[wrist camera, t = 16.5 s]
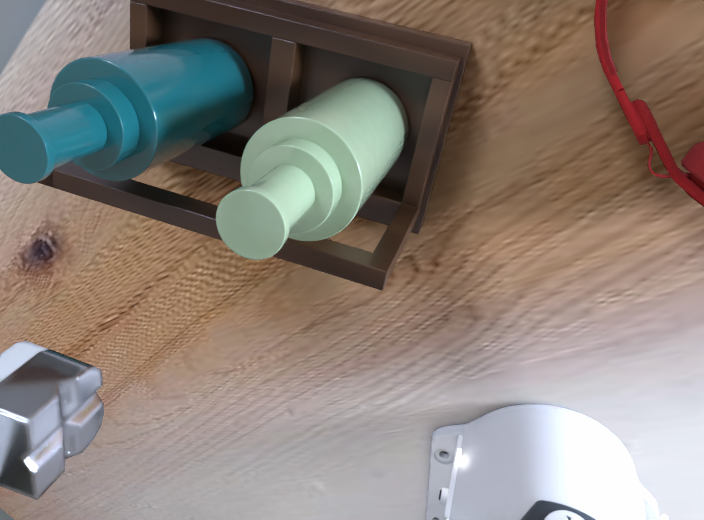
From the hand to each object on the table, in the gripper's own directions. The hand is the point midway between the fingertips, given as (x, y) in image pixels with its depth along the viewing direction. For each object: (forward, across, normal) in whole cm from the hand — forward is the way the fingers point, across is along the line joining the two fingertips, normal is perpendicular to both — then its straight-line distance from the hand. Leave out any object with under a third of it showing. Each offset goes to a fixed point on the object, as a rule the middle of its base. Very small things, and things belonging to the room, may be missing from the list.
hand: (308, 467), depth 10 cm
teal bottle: (+31, +18, +4) cm, 36 cm away
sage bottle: (+31, +7, +4) cm, 32 cm away
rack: (+33, +13, +4) cm, 36 cm away
